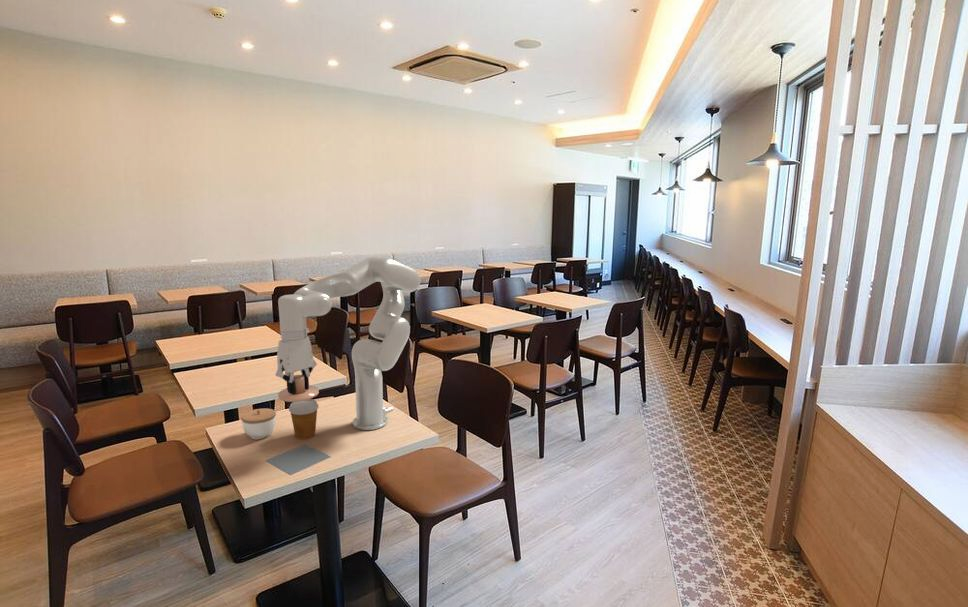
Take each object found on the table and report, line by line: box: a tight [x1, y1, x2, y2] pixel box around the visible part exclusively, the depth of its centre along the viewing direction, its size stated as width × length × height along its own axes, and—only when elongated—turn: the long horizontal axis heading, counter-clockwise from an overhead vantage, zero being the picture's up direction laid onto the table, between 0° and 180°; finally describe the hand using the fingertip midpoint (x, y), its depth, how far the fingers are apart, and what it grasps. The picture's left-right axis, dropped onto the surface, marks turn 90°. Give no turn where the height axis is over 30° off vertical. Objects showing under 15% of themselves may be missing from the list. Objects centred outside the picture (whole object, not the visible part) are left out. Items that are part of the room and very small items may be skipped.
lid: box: [277, 374, 320, 403], centre depth 154 cm, size 12×12×6 cm
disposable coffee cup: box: [288, 398, 319, 440], centre depth 168 cm, size 10×10×12 cm
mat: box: [264, 443, 331, 476], centre depth 152 cm, size 14×14×1 cm
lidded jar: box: [241, 407, 277, 440], centre depth 168 cm, size 11×11×9 cm
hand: (298, 390), depth 154 cm, fingers closed on lid, 4 cm apart
